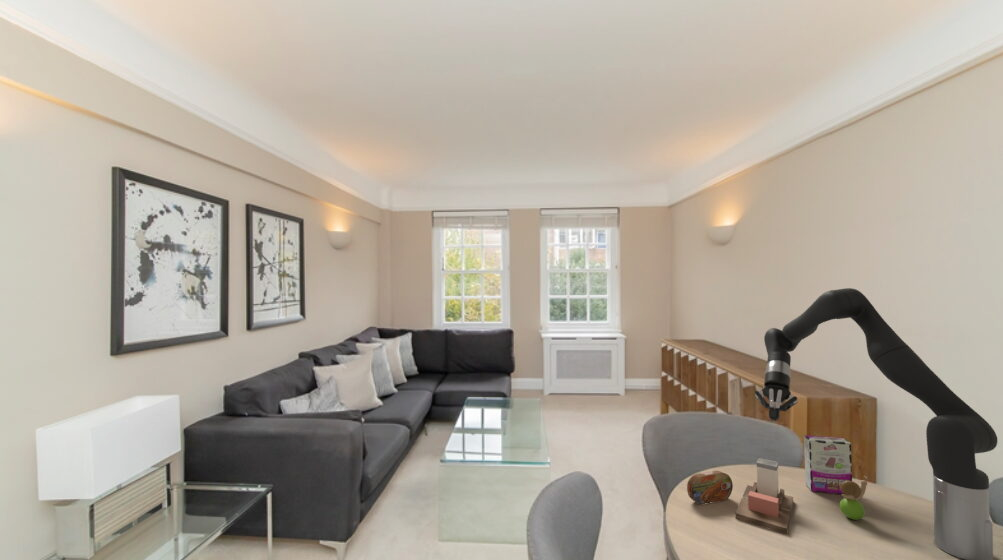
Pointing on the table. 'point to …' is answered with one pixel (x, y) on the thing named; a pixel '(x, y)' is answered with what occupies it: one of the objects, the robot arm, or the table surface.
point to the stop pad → (763, 504)
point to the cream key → (767, 477)
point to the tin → (709, 487)
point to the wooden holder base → (764, 519)
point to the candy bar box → (827, 463)
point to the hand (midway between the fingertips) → (773, 419)
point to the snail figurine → (853, 499)
